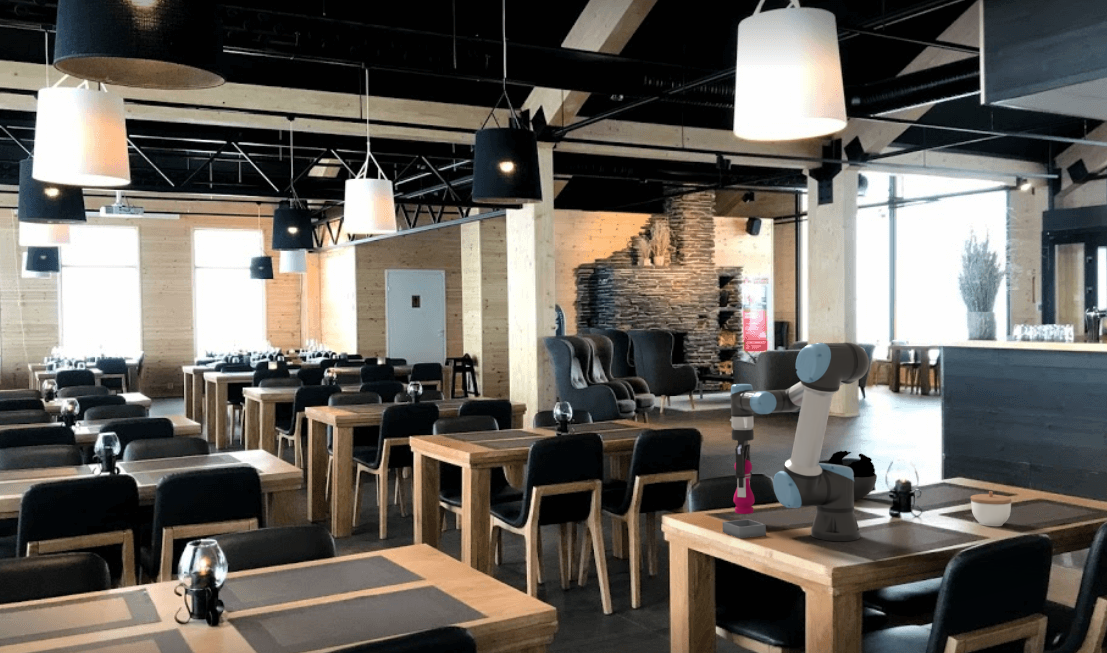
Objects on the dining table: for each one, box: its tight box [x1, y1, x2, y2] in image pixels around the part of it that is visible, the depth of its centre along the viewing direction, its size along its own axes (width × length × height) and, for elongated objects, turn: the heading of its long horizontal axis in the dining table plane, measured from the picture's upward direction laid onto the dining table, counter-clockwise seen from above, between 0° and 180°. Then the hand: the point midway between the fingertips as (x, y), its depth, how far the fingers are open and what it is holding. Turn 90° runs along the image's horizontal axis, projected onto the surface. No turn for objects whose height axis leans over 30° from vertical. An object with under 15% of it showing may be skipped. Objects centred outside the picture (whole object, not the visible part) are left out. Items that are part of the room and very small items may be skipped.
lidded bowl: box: [970, 491, 1012, 527], centre depth 337 cm, size 13×13×11 cm
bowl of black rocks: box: [826, 450, 878, 501], centre depth 385 cm, size 20×20×19 cm
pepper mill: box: [732, 459, 756, 515], centre depth 346 cm, size 7×7×20 cm
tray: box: [722, 518, 767, 539], centre depth 326 cm, size 10×10×4 cm
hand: (743, 495), depth 346 cm, fingers closed on pepper mill, 6 cm apart
